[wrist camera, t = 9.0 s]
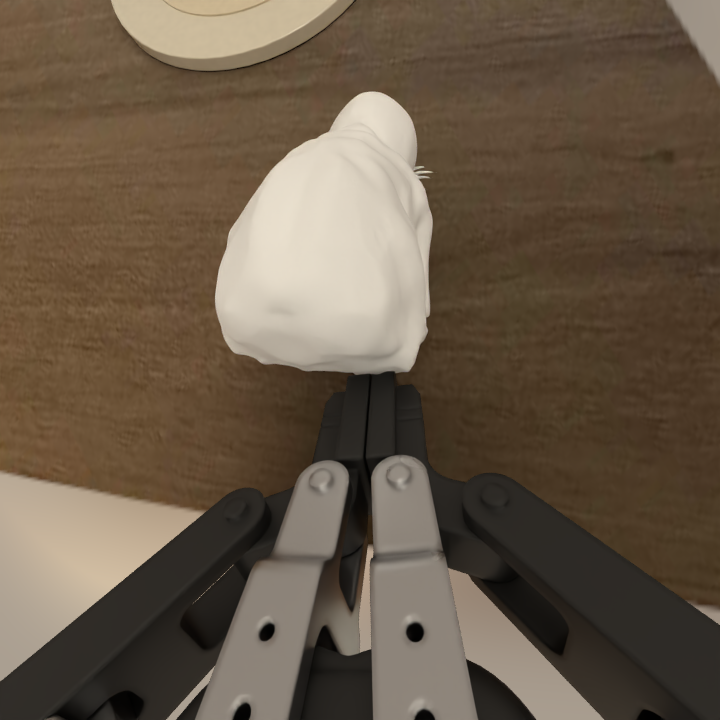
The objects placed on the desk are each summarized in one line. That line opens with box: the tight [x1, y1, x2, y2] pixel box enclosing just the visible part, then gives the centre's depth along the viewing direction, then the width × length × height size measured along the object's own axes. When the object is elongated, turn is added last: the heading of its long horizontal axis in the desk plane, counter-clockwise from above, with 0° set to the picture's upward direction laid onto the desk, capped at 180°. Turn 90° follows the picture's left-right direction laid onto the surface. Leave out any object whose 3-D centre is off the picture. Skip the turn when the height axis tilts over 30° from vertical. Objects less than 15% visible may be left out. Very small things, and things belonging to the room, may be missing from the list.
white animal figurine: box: [215, 92, 434, 375], centre depth 13 cm, size 6×8×12 cm
